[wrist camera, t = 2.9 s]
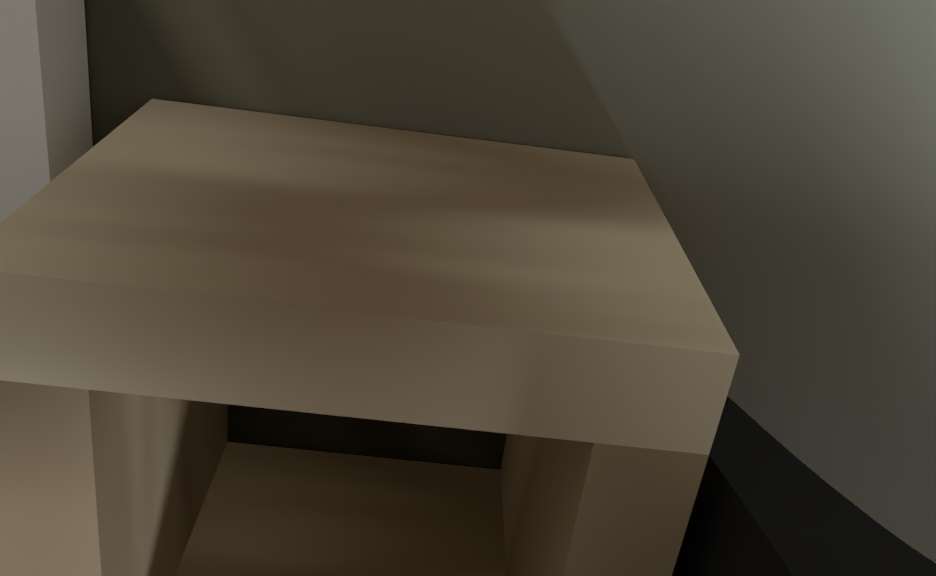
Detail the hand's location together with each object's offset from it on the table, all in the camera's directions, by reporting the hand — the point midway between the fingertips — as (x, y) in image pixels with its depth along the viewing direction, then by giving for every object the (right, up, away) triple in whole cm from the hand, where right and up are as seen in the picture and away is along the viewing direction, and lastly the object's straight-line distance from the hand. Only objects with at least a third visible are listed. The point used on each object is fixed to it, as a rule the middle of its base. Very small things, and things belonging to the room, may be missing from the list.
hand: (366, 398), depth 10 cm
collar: (0, +1, +1) cm, 1 cm away
